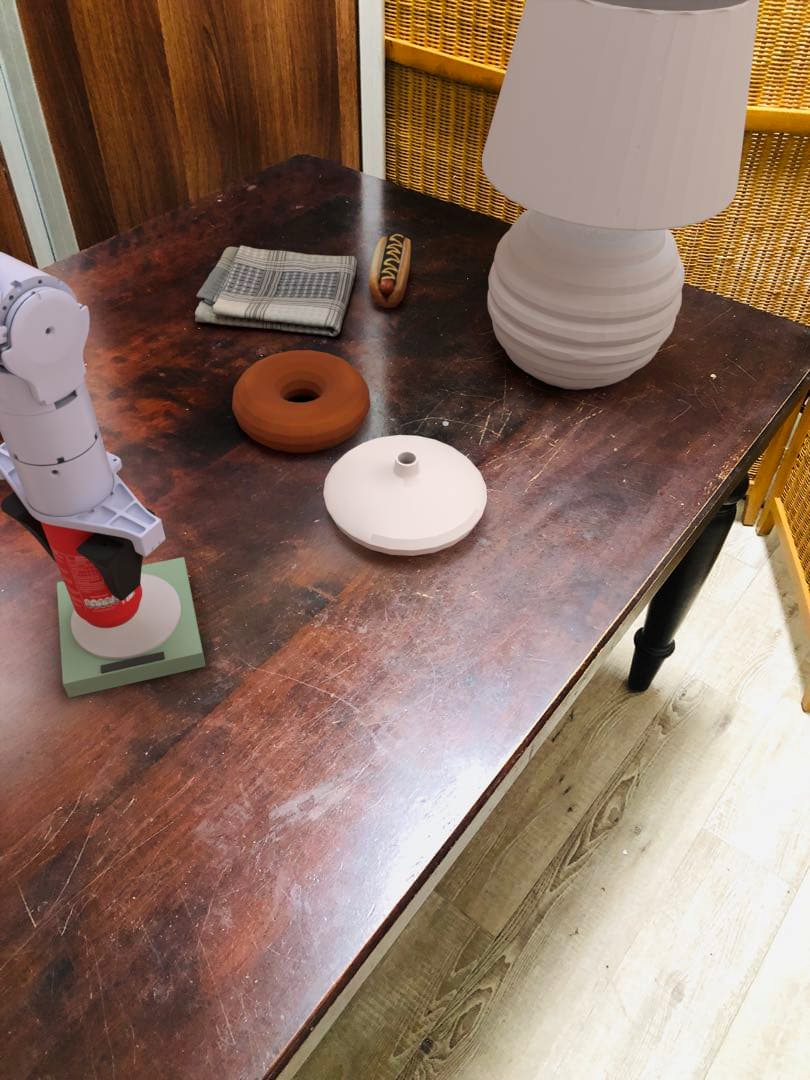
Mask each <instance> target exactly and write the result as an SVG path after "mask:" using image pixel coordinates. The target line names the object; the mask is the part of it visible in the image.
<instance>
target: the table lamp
mask: <svg viewBox="0 0 810 1080" xmlns="http://www.w3.org/2000/svg"><path fill="white" fill-rule="evenodd" d="M523 7H524V8H523V10H522V14H521V17H520V20H519V24H518V28H517V31H516V35H515V38H514V42H513V46H512V49H511V52H510V55H509V59H508V62H507V66H506V70H505V74H504V77H503V81H502V85H501V88H500V91H499V95H498V98H497V103H496V106H495V109H494V112H493V117H492V119H491V123H490V127H489V131H488V134H487V137H486V141H485V145H484V149H483V152H482V156H481V166H482V167H481V168H482V172H483V173H484V175H485V178H486V180H487V181H488V182H489V183H490V184H491V185H492V186H493V188H494V189H495V190H496V191H498V192H499V193H500V194H502V196H504V197H505V198H507V199H508V200H510V201H512V202H514V203H515V204H517V205H519V206H520V207H522V208H524V209H527V210H525V211H524V212H522V213H521V214H520V215H519V216H518V217H517V218H516V220H515V221H514V222H513V223H512V225H511V227H510V228H509V230H508V231H507V232H505V234H504V235H503V236H502V237H501V239H500V240H499V242H498V243H497V245H496V249H495V253H494V257H493V262H492V264H491V267H490V270H489V273H488V274H489V275H488V290H487V310H488V314H489V316H490V318H491V323H492V328H493V333H494V335H495V338H496V340H497V341H498V343H499V344H500V345H501V347H502V348H503V349H504V350H505V353H506V354H507V356H508V357H509V359H510V360H511V361H512V362H513V363H514V364H515V365H516V366H517V367H518V368H520V369H521V370H522V371H523V372H525V373H527V374H529V375H530V376H532V377H533V378H535V379H537V380H539V381H541V382H543V383H545V384H547V385H550V386H554V387H557V388H562V389H564V390H579V391H581V390H590V389H591V390H592V389H595V388H601V387H605V386H609V385H613V384H617V383H619V382H621V381H622V380H625V379H627V378H629V377H630V376H631V375H633V374H634V373H635V372H636V371H638V370H640V369H642V368H644V367H645V366H646V365H647V364H648V363H649V362H651V361H652V359H653V358H654V357H655V356H656V355H657V352H658V351H659V350H660V348H661V347H662V346H663V344H664V343H665V342H666V341H667V339H668V338H669V337H670V335H671V334H672V332H673V330H674V326H675V323H676V319H677V316H678V314H679V312H680V309H681V306H682V300H683V286H684V284H685V266H684V264H683V261H682V258H681V255H680V254H679V247H678V245H677V242H676V239H675V236H674V235H673V234H672V232H671V230H672V229H679V228H680V229H681V228H685V227H688V226H692V225H696V224H699V223H703V222H705V221H707V220H709V219H712V218H714V217H716V216H718V215H719V214H720V213H722V212H723V211H725V210H727V208H728V207H729V206H730V205H731V204H732V202H733V201H734V199H735V197H736V194H737V191H738V187H739V179H740V169H741V160H742V152H743V144H744V135H745V127H746V119H747V110H748V101H749V93H750V84H751V78H752V77H751V76H752V69H753V59H754V50H755V43H756V34H757V25H758V24H757V23H758V16H759V10H760V9H759V8H760V0H525V3H524V6H523Z"/></svg>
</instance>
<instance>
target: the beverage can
mask: <svg viewBox="0 0 810 1080" xmlns="http://www.w3.org/2000/svg"><path fill="white" fill-rule="evenodd" d="M40 522H41V521H40ZM41 524H42V527H43V529H44V532H45V534H46V537H47V540H48V542H49V545H50V547H51V550H52V552H53V555H54V558H55V560H56V562H55V563H56V565H57V568H58V570H59V574H60V576H61V578H62V581H64V583H65V586H66V588H67V591H68V593H69V596H70V599H71V601H72V604H73V606H74V609H75V611H76V613H77V614H78V615H79V616H80V617H81V618H82V619H84V620H86V621H87V622H88V623H89V624H90V625H92V626H95V627H98V628H113V627H117V626H120V625H122V624H124V623H126V622H128V621H129V620H130V619H132V618H133V617H134V615H135V614H136V613H137V611H138V609H139V606H140V601H141V598H142V587H141V583H140V586H139V587H138V588H136V589H135V590H134V591H133V592H132V593H131V594H130V595H129V596H128V597H127V598H126V599H124V600H123V601H120V600H119V599H117V598H115V597H114V596H113V595H112V594H111V592H110V591H109V589H108V587H107V585H106V583H105V581H104V579H103V577H102V575H101V574H100V572H99V571H98V570H97V568H96V567H95V566H94V565H93V564H92V563H91V562H90V561H89V560H88V559H87V558H85V557H84V556H82V555H81V554H79V553H77V551H76V548H77V547H78V546H79V545H81V544H82V543H83V542H84V541H85V540H87V539H88V538H89V537H90V536H91V535H93V534H94V533H95V532H89V531H83V530H77V529H72V528H66V527H60V526H54V525H49V524H46V523H43V522H41Z"/></svg>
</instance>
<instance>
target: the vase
mask: <svg viewBox="0 0 810 1080" xmlns="http://www.w3.org/2000/svg"><path fill="white" fill-rule="evenodd" d="M487 491H488V489H487V485H486V482H485V480H484V478H483V475H482V473H481V471H480V470H479V469H478V467H476V465H475V464H474V463H473V462H472V460H470V458H469V457H467V456H466V455H464V454H463V453H462V452H460V451H458V450H457V449H456V448H455V447H453V446H451V445H449V444H446V443H444V442H443V441H439V440H437V439H434V438H429V437H424V436H420V435H409V434H408V435H405V434H396V435H395V434H394V435H388V436H381V437H376V438H373V439H370V440H368V441H365V442H362V443H361V444H358V445H357V446H355V447H353V448H351V449H350V450H347V452H345V453H344V454H343V455H342V456H341V457H340V458H339V459H338V460H336V462H335V463H333V465H332V466H331V468H330V470H329V471H328V473H327V475H326V477H325V480H324V486H323V498H324V502H325V507H326V510H327V512H328V514H329V515H330V517H331V519H332V520H333V521H334V523H335V524H336V526H337V528H338V529H339V531H340V532H342V533H343V534H345V536H347V537H348V538H349V539H350V540H352V541H353V542H355V543H356V544H359V545H361V546H363V547H365V548H367V549H369V550H371V551H375V552H379V553H383V554H387V555H390V556H391V555H392V556H411V557H413V556H419V555H428V554H434V553H436V552H439V551H441V550H444V549H447V548H450V547H452V546H454V545H456V544H457V543H458V542H460V541H461V540H463V539H464V538H466V537H468V535H469V534H470V533H471V531H472V530H474V528H475V526H476V525H477V524H478V522H479V521H480V520H481V518H482V517H483V514H484V511H485V509H486V505H487V503H488V495H487V494H488V493H487Z"/></svg>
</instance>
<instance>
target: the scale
mask: <svg viewBox="0 0 810 1080" xmlns="http://www.w3.org/2000/svg"><path fill="white" fill-rule="evenodd" d="M140 583H141V587H142V598H141V601H140V606H139V609H138V611H137V613H136V614H135V615H134V617H133V618H132V619H130V620H129V621H128V622H126V623H124V624H122V625H120V626H117V627H113V628H98V627H95V626H92V625H90V624H89V623H88V622H87V621H86V620H84V619H82V618H81V617H80V616H79V615H78V614H77V613H76V611H75V609H74V606H73V604H72V601H71V599H70V596H69V593H68V591H67V588H66V586H65V583H64V581H63V580H62V581H57V582H56V594H57V595H56V597H57V612H58V628H59V645H60V660H61V662H60V663H61V676H62V677H61V679H62V686H63V688H64V690H65V692H66V694H67V697H68V698H74V697H78V696H82V695H87V694H92V693H96V692H101V691H104V690H108V689H113V688H119V687H121V686H127V685H131V684H134V683H139V682H144V681H148V680H152V679H157V678H161V677H167V676H171V675H175V674H179V673H182V672H186V671H191V670H196V669H200V668H205V667H206V665H207V664H206V661H205V655H204V650H203V645H202V640H201V633H200V629H199V625H198V624H199V623H198V620H197V615H196V610H195V609H196V608H195V603H194V599H193V598H194V597H193V594H192V588H191V582H190V578H189V572H188V568H187V564H186V559H185V557H184V556H182V557H176V558H173V559H167V560H161V561H157V562H156V561H155V562H151V563H147V564H142V569H141V581H140Z"/></svg>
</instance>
